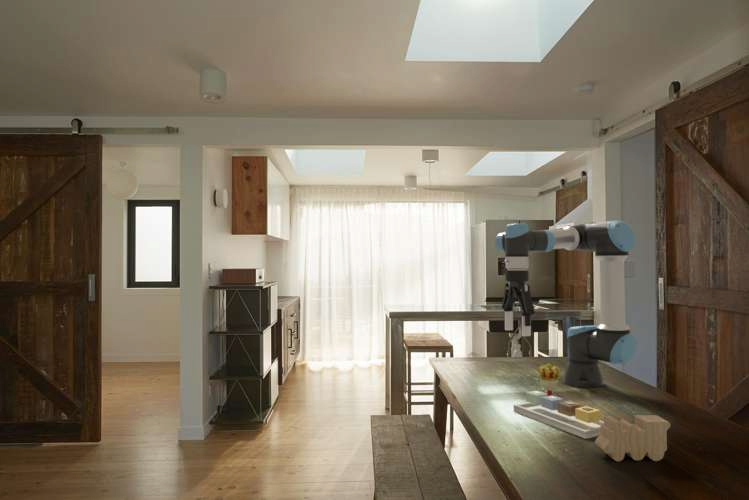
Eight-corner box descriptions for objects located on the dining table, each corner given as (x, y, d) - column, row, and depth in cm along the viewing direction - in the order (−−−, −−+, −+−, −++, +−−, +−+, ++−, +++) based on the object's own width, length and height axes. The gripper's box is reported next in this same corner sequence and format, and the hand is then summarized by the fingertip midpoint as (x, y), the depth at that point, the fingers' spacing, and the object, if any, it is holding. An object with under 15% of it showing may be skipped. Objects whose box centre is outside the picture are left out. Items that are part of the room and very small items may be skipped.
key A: (587, 416, 158) (586, 405, 158) (600, 420, 154) (599, 409, 154) (575, 418, 156) (575, 407, 156) (588, 423, 152) (588, 412, 152)
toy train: (595, 453, 137) (594, 415, 138) (658, 452, 138) (658, 414, 138) (604, 462, 132) (604, 422, 132) (671, 460, 132) (670, 421, 132)
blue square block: (552, 404, 171) (552, 394, 171) (563, 408, 166) (563, 398, 166) (541, 406, 169) (541, 396, 169) (552, 410, 164) (552, 400, 164)
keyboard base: (540, 406, 180) (540, 400, 180) (614, 432, 154) (614, 425, 154) (513, 410, 175) (513, 404, 175) (585, 438, 148) (585, 431, 148)
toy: (561, 405, 181) (561, 361, 182) (540, 404, 183) (539, 361, 183) (558, 399, 188) (558, 357, 189) (537, 398, 190) (537, 357, 190)
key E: (537, 399, 177) (537, 389, 177) (547, 402, 173) (547, 393, 173) (526, 401, 175) (526, 391, 175) (536, 404, 171) (536, 394, 171)
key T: (569, 410, 164) (568, 399, 164) (581, 414, 160) (581, 403, 160) (557, 412, 162) (557, 401, 162) (569, 416, 158) (569, 405, 158)
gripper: (492, 268, 187) (492, 328, 187) (522, 270, 163) (523, 339, 162) (511, 268, 189) (512, 327, 188) (545, 270, 164) (545, 338, 164)
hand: (517, 333), depth 175 cm, fingers open, 13 cm apart
